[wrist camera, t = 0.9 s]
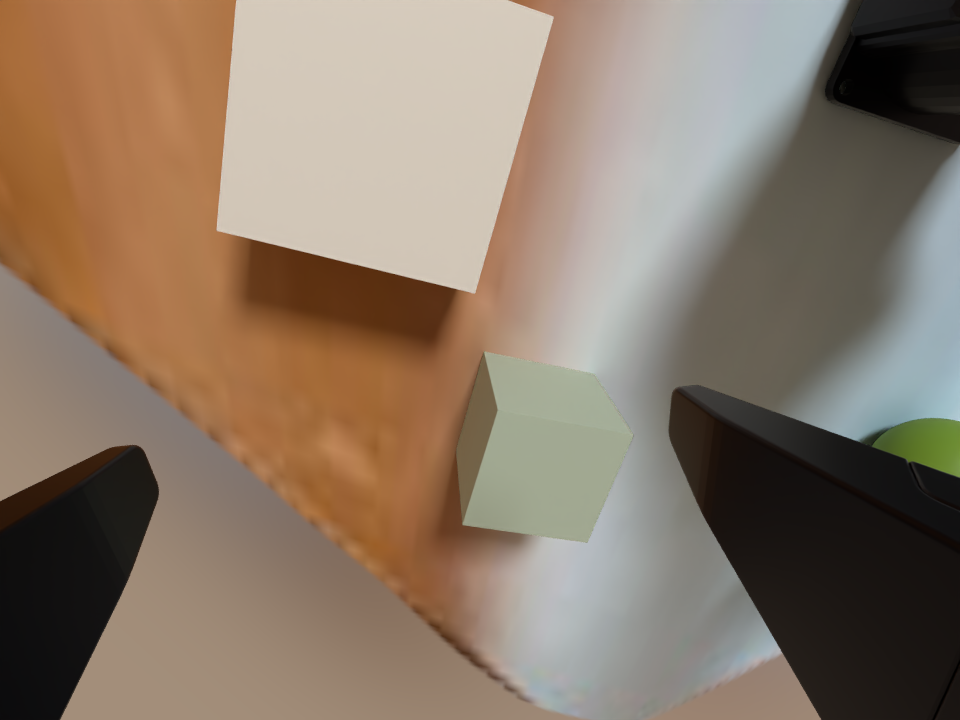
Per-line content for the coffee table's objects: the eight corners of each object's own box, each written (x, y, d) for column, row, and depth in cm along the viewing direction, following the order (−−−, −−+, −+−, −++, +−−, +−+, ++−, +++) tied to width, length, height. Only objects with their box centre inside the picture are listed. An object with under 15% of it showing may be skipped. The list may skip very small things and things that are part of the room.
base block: (528, 36, 18) (553, 17, 14) (466, 262, 21) (475, 293, 18) (284, -49, 17) (244, -94, 13) (255, 209, 20) (216, 230, 16)
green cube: (593, 373, 23) (633, 435, 19) (558, 466, 25) (587, 542, 21) (483, 350, 23) (497, 410, 18) (455, 448, 24) (462, 525, 20)
